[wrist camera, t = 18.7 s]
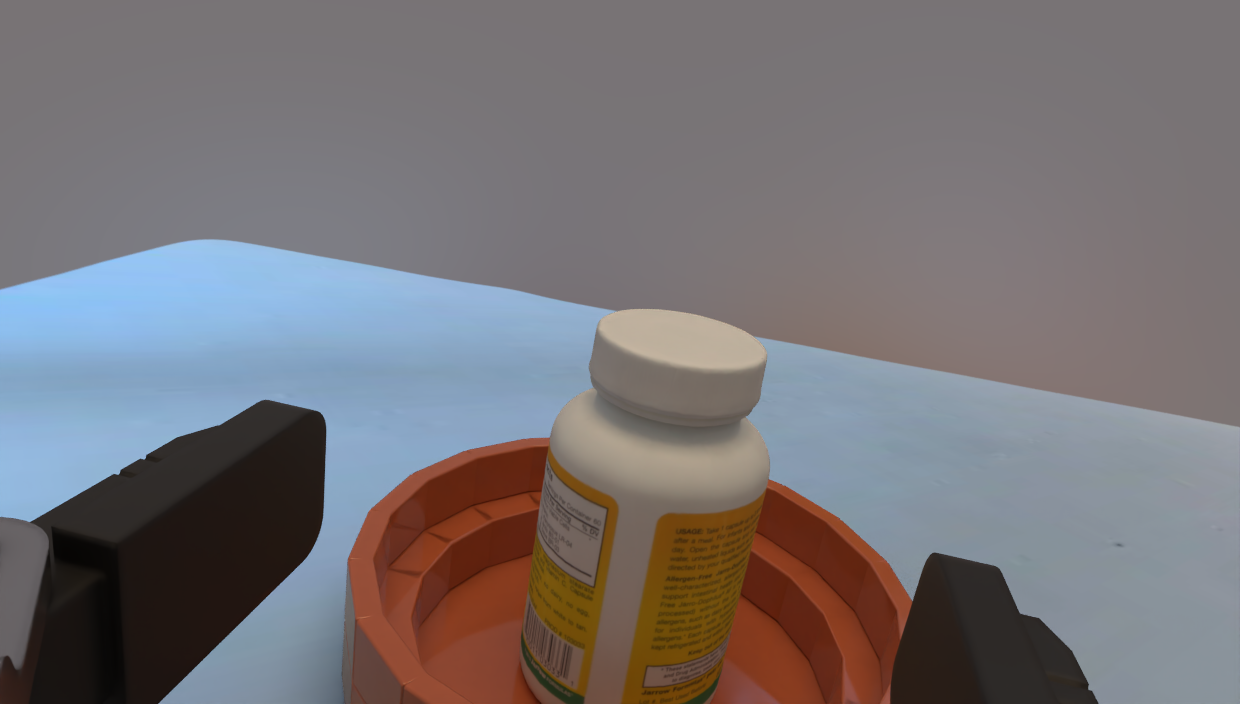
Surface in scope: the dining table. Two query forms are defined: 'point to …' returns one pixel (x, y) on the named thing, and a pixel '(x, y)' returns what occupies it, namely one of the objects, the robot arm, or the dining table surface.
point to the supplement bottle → (647, 515)
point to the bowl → (499, 576)
